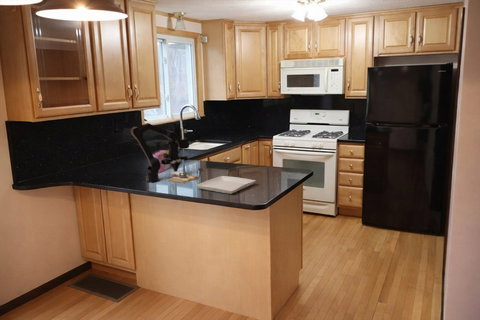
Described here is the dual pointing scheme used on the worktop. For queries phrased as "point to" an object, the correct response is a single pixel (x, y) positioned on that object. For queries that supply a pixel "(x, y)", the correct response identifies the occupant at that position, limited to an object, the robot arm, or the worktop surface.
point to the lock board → (183, 179)
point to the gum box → (160, 157)
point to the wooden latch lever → (180, 174)
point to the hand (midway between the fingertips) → (175, 172)
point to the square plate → (226, 184)
